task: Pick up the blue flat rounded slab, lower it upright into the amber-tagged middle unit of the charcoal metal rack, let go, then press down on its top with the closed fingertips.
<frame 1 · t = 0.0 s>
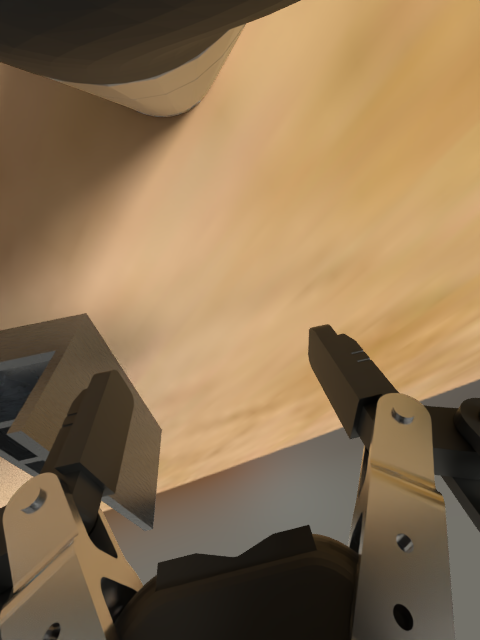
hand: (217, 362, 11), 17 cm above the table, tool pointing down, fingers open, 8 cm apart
rack: (74, 397, 35), on the table
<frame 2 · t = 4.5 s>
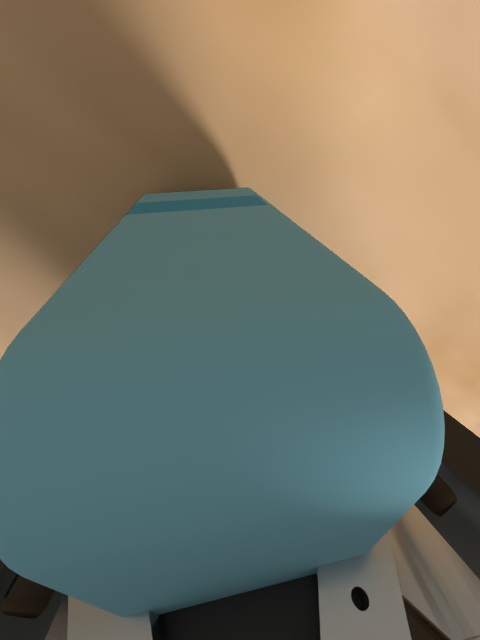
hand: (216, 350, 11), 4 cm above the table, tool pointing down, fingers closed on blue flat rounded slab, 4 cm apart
rack: (114, 476, 24), on the table
blue flat rounded slab: (210, 298, 15), on the table, touching gripper
when the fingers open (7 cm above the table, at t = 10.5 s): blue flat rounded slab stays where it is, resting on rack.
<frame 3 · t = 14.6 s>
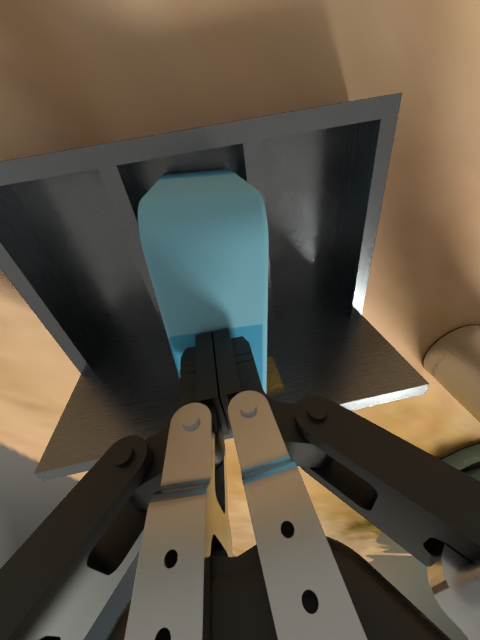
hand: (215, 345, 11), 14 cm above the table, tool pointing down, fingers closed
rack: (204, 245, 22), on the table
blue flat rounded slab: (207, 250, 21), point 1 cm above the table, touching gripper, rack
tea set: (464, 470, 71), on the table
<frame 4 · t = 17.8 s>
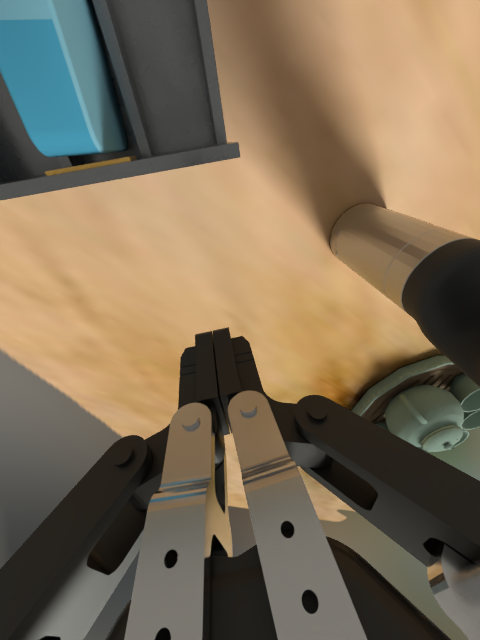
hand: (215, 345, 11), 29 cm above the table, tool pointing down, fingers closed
rack: (91, 81, 26), on the table
blue flat rounded slab: (89, 79, 25), point 1 cm above the table, touching rack
tea set: (411, 400, 74), on the table
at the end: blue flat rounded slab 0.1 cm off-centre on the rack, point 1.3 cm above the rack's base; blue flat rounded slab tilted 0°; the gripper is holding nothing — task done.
